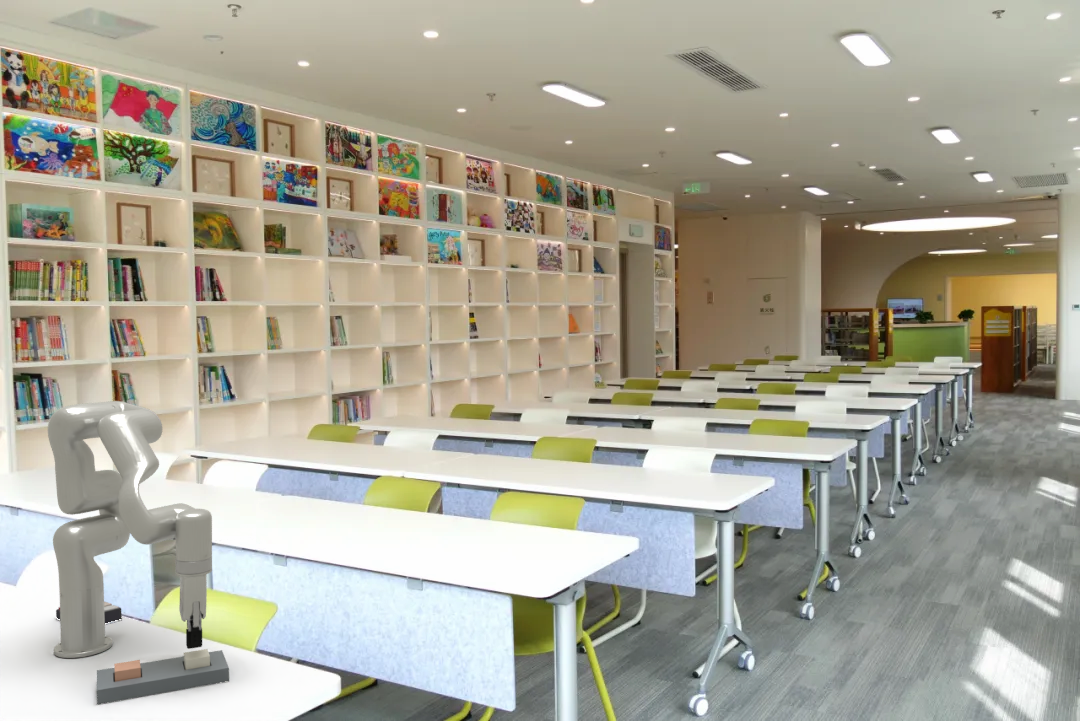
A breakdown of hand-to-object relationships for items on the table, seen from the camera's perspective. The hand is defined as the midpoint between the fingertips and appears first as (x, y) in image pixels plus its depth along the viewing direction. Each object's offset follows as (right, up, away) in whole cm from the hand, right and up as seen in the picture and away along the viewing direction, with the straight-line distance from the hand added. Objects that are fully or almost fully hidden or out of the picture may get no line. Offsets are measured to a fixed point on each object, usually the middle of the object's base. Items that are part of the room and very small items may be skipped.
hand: (194, 646), depth 197 cm
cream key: (+1, -6, 0) cm, 6 cm away
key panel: (-6, -7, -3) cm, 9 cm away
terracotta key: (-12, -6, -6) cm, 15 cm away
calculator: (-44, -6, +39) cm, 59 cm away
